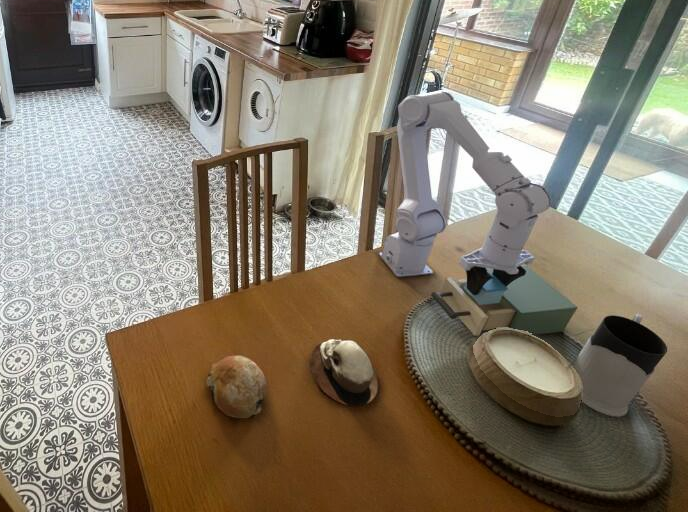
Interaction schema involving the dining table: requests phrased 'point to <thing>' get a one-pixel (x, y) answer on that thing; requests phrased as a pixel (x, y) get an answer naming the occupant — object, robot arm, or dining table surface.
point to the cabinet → (537, 304)
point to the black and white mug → (617, 363)
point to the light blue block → (489, 291)
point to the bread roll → (237, 386)
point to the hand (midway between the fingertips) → (482, 290)
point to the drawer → (472, 308)
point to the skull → (344, 372)
